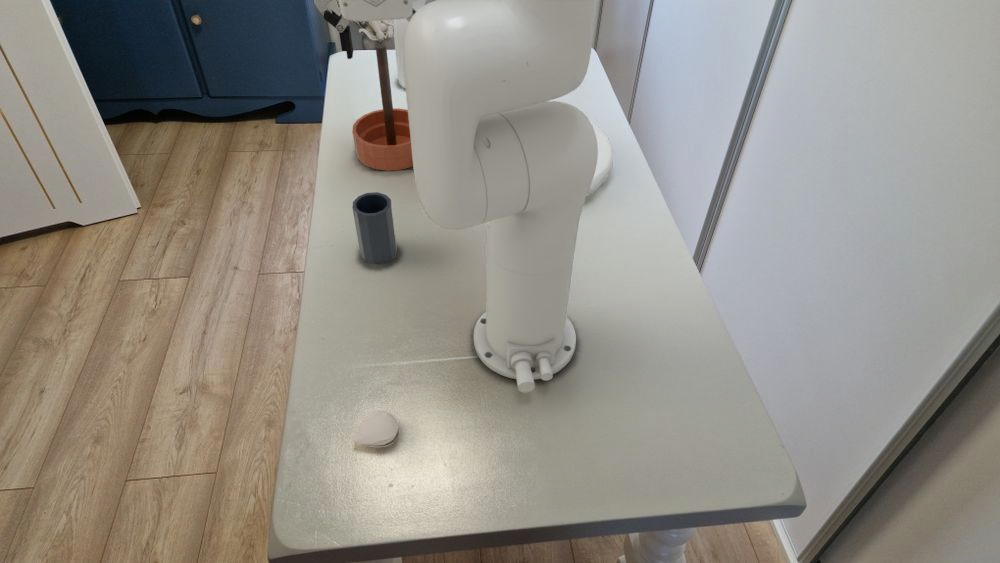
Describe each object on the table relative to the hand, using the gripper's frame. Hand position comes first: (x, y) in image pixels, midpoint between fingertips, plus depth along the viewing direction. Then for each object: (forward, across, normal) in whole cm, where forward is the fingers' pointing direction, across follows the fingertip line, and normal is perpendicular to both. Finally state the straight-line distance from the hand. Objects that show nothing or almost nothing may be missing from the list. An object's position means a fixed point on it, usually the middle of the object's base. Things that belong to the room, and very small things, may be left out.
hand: (382, 53), depth 99 cm
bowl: (+18, 0, +1) cm, 18 cm away
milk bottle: (+17, +5, +26) cm, 31 cm away
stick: (+17, 0, +1) cm, 17 cm away
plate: (+18, +22, -5) cm, 29 cm away
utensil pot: (+18, -2, -25) cm, 31 cm away
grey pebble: (+19, -2, -55) cm, 58 cm away
